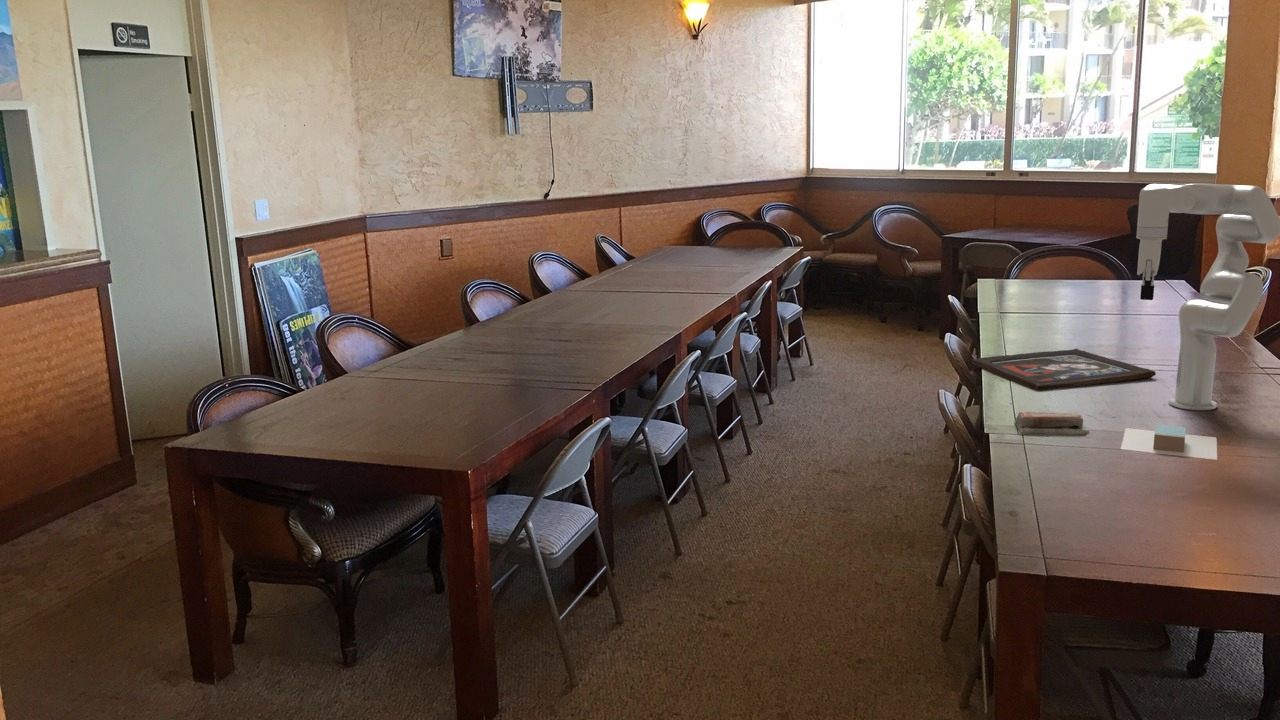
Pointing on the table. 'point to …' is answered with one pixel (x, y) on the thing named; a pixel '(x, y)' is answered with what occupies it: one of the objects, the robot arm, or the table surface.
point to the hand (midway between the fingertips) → (1146, 299)
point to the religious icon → (1061, 369)
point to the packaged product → (1050, 423)
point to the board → (1192, 448)
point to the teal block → (1169, 438)
